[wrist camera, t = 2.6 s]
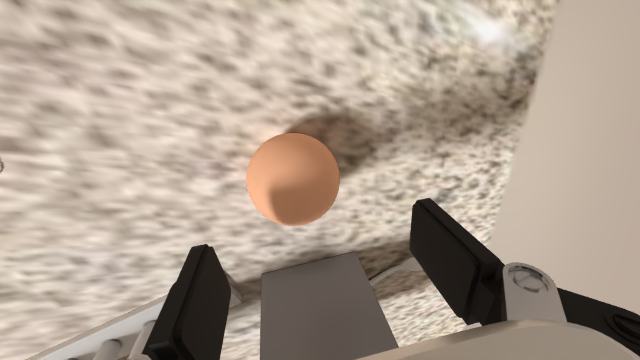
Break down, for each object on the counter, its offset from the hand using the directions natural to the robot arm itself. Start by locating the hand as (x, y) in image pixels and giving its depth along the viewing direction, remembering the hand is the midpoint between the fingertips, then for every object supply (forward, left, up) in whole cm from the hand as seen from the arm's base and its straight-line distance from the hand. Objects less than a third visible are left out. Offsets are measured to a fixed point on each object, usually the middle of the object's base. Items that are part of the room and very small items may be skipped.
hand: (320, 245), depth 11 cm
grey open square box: (+15, -1, -9) cm, 18 cm away
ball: (-1, -1, -6) cm, 6 cm away
